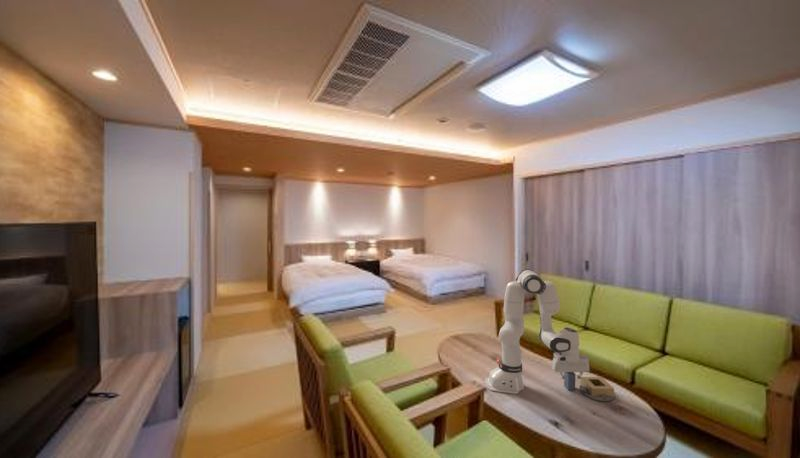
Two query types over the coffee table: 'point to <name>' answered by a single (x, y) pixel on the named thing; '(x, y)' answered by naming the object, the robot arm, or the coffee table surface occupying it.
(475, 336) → the coffee table surface
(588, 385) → the rosette plate
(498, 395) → the coffee table surface
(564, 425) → the coffee table surface
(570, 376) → the grey rectangular block
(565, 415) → the coffee table surface
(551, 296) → the robot arm
